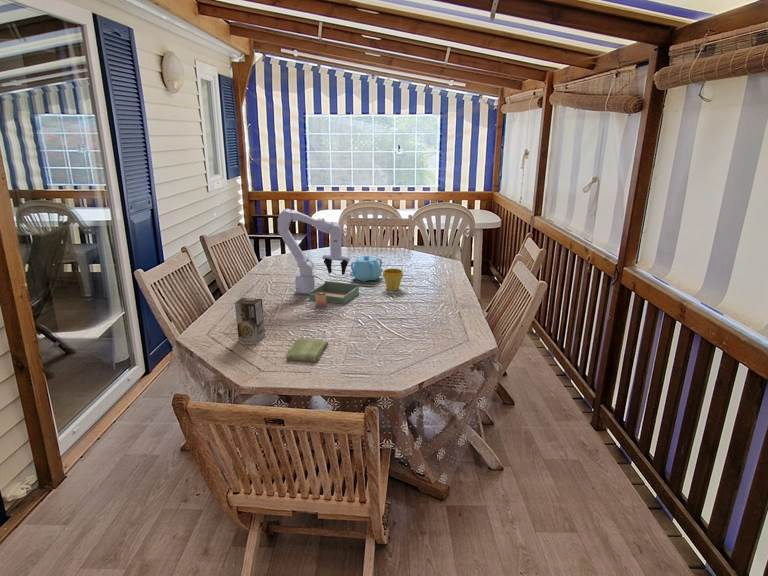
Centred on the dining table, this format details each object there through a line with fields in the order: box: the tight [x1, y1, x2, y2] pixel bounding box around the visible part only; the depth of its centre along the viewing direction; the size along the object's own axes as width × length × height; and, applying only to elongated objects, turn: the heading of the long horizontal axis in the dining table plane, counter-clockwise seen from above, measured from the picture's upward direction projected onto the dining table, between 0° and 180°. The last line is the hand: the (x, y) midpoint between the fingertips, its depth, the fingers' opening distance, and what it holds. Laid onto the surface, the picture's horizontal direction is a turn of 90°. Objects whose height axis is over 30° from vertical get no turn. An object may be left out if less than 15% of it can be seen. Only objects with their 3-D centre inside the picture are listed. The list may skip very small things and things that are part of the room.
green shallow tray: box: [309, 280, 360, 305], centre depth 254 cm, size 19×17×5 cm
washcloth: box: [285, 337, 329, 363], centre depth 191 cm, size 13×18×3 cm
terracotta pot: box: [315, 292, 328, 307], centre depth 240 cm, size 5×5×6 cm
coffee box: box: [234, 297, 266, 342], centre depth 202 cm, size 9×6×16 cm
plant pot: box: [382, 268, 404, 291], centre depth 266 cm, size 10×10×10 cm
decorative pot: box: [349, 254, 384, 283], centre depth 283 cm, size 16×16×14 cm
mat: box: [304, 300, 337, 312], centre depth 241 cm, size 12×10×1 cm
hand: (336, 273), depth 261 cm, fingers open, 7 cm apart
